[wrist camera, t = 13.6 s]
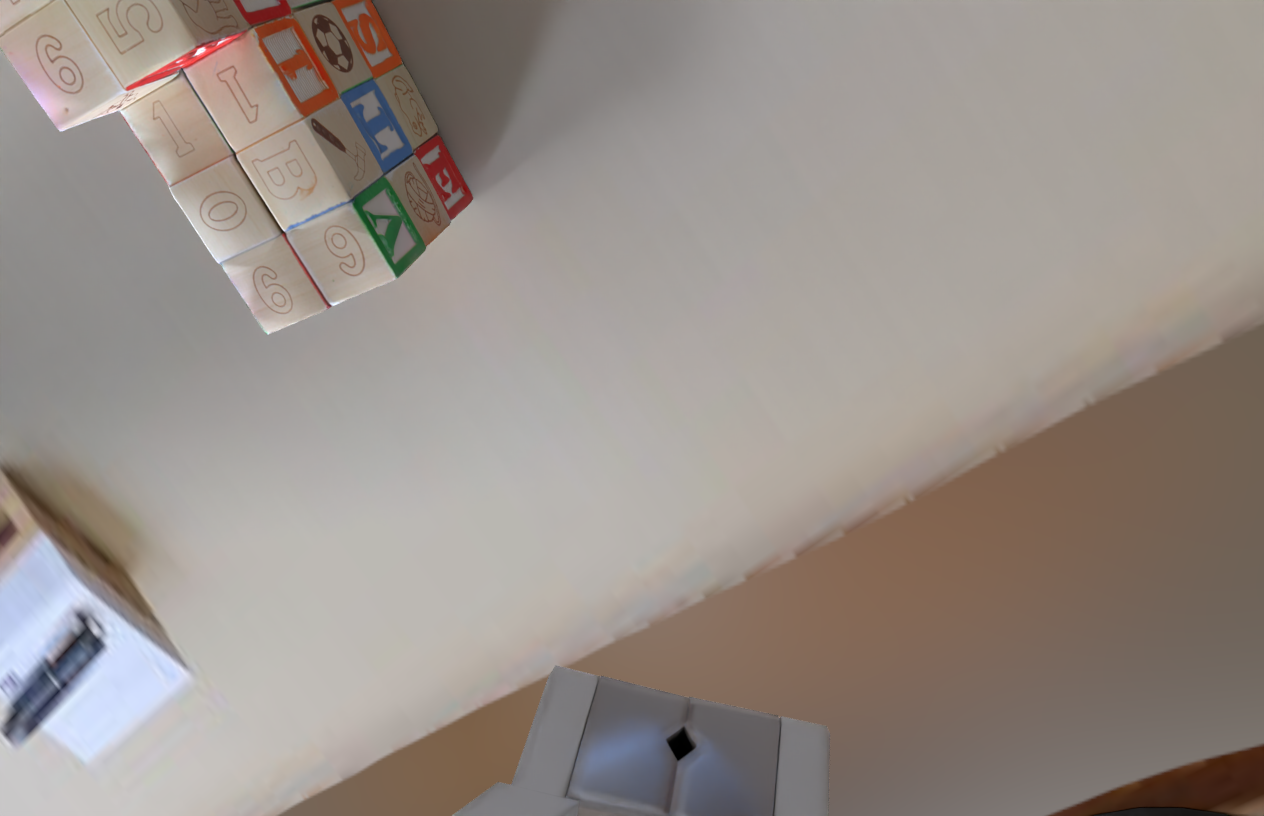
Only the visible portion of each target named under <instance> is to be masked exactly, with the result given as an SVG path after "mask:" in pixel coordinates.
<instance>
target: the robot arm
mask: <svg viewBox="0 0 1264 816" xmlns="http://www.w3.org/2000/svg"><path fill="white" fill-rule="evenodd" d="M829 759H830V733H829V731H828V728H827V726H823V725H819V724H814V723H810V722H805V721H801V720H795V719H791V718H786V717H782V716H781V717H780V718H779V717H778V715H773V714H769V713H764V712H759V711H754V710H750V709H745V708H740V707H736V706H731V705H726V704H721V703H716V702H712V701H707V700H702V699H697V698H693V697H689V698H688V697H684V696H680V695H676V694H672V693H668V692H664V691H660V690H656V689H652V688H648V687H644V686H640V685H636V684H632V683H628V682H624V681H620V680H616V679H612V678H608V677H604V676H601V678H600V676H596V675H593V674H588V673H584V672H580V671H576V670H572V669H568V668H564V667H560V666H555V667H554V669H553V671H552V672H551V674H550V675H549V677H548V680H547V684H546V686H545V689H544V692H543V695H542V698H541V701H540V704H539V707H538V709H537V712H536V715H535V718H534V721H533V724H532V727H531V729H530V732H529V735H528V738H527V741H526V744H525V747H524V750H523V753H522V755H521V758H520V761H519V764H518V767H517V770H516V773H515V776H514V778H513V781H512V784H511V785H510V784H505V783H500V782H497V783H496V784H495V785H493V786H492V787H490V788H489V789H488V790H486V791H485V792H484V793H482V794H481V795H479V796H478V797H477V798H475V799H474V800H473V801H471V802H470V803H468V804H467V805H466V806H465V807H463V808H462V809H460V810H459V811H458V812H456V813H455V814H453V815H452V816H828V811H829V809H828V808H829Z"/></svg>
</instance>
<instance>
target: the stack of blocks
mask: <svg viewBox="0 0 1264 816" xmlns="http://www.w3.org/2000/svg"><path fill="white" fill-rule="evenodd" d="M0 49H1V51H2V52H3V53H4V55H5V56H6V58H7V59H8V60H9V62H10V63H11V65H12V66H13V67H14V69H15V70H16V72H17V73H18V74H19V76H20V77H21V79H22V80H23V81H24V83H25V84H26V86H27V87H28V89H29V90H30V91H31V93H32V94H33V96H34V97H35V99H36V100H37V101H38V103H39V104H40V106H41V107H42V108H43V110H44V111H45V112H46V114H47V115H48V117H49V118H50V120H51V121H52V122H53V124H54V125H55V127H56V128H57V129H58V130H59V131H60V132H61V131H64V130H66V129H69V128H72V127H74V126H77V125H80V124H82V123H85V122H88V121H90V120H93V119H96V118H99V117H101V116H104V115H107V114H110V113H113V112H116V111H119V112H120V113H121V115H122V116H123V118H124V120H125V121H126V123H127V124H128V126H129V127H130V129H131V130H132V132H133V133H134V135H135V136H136V138H137V139H138V141H139V142H140V144H141V145H142V147H143V148H144V150H145V151H146V153H147V154H148V156H149V157H150V159H151V160H152V162H153V163H154V165H155V166H156V168H157V169H158V171H159V172H160V174H161V175H162V177H163V178H164V180H165V181H166V182H167V184H168V185H169V190H170V192H171V194H172V195H173V197H174V198H175V200H176V201H177V203H178V205H179V206H180V208H181V209H182V211H183V212H184V214H185V215H186V217H187V218H188V220H189V221H190V223H191V224H192V226H193V227H194V229H195V230H196V232H197V233H198V235H199V236H200V238H201V239H202V241H203V242H204V244H205V246H206V247H207V249H208V250H209V252H210V253H211V255H212V256H213V258H214V259H215V260H216V262H217V263H219V264H221V265H222V267H223V269H224V271H225V272H226V274H227V276H228V277H229V279H230V280H231V282H232V283H233V285H234V286H235V288H236V289H237V291H238V292H239V294H240V295H241V297H242V298H243V300H244V302H245V303H246V305H247V307H248V308H249V309H250V311H251V312H252V313H253V315H254V317H255V318H256V320H257V321H258V323H259V324H260V326H261V328H262V329H263V330H264V332H265V333H266V334H267V335H268V334H270V333H273V332H275V331H278V330H280V329H282V328H285V327H287V326H290V325H292V324H294V323H297V322H299V321H301V320H303V319H306V318H309V317H311V316H313V315H316V314H318V313H320V312H323V311H325V310H327V309H329V308H330V307H331V306H333V305H336V304H338V303H341V302H343V301H346V300H348V299H351V298H353V297H356V296H358V295H360V294H363V293H365V292H367V291H369V290H372V289H374V288H377V287H379V286H381V285H384V284H386V283H389V282H391V281H393V280H395V279H397V278H398V277H400V276H401V275H402V274H403V273H404V272H405V271H406V270H407V269H408V268H409V267H410V266H411V265H412V263H413V262H414V261H415V260H416V259H417V258H418V257H419V256H420V255H421V254H422V253H423V252H424V251H425V249H426V246H427V245H428V244H430V243H431V242H432V241H433V240H434V239H435V238H436V237H437V236H438V235H439V234H440V233H441V232H442V231H443V230H445V229H446V228H447V227H448V226H449V225H450V223H451V220H453V219H454V218H455V217H456V216H457V215H458V214H459V213H460V212H462V210H464V209H465V208H466V207H467V206H468V205H469V204H470V203H471V201H472V200H473V196H472V194H471V192H470V190H469V188H468V187H467V185H466V183H465V181H464V179H463V178H462V176H461V174H460V172H459V170H458V169H457V167H456V165H455V163H454V161H453V159H452V158H451V156H450V154H449V152H448V150H447V148H446V147H445V145H444V143H443V141H442V139H441V137H440V136H439V135H438V134H437V132H438V127H437V125H436V123H435V121H434V120H433V118H432V116H431V114H430V112H429V110H428V108H427V106H426V104H425V102H424V101H423V99H422V97H421V95H420V93H419V91H418V89H417V87H416V86H415V84H414V82H413V80H412V78H411V76H410V74H409V73H408V71H407V69H406V68H405V66H404V65H403V64H402V60H401V57H400V55H399V53H398V51H397V49H396V47H395V45H394V43H393V42H392V40H391V38H390V36H389V34H388V32H387V30H386V28H385V26H384V24H383V22H382V20H381V18H380V16H379V14H378V13H377V11H376V9H375V7H374V5H373V3H372V2H371V0H0Z"/></svg>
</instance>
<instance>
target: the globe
mask: <svg viewBox="0 0 1264 816" xmlns="http://www.w3.org/2000/svg"><path fill="white" fill-rule="evenodd" d="M1094 816H1229V815H1226V814H1220V813H1213V812H1206V811H1199V810H1192V809H1185V808H1136V809H1130V810H1124V811H1118V812H1112V813H1106V814H1100V815H1094Z"/></svg>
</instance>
